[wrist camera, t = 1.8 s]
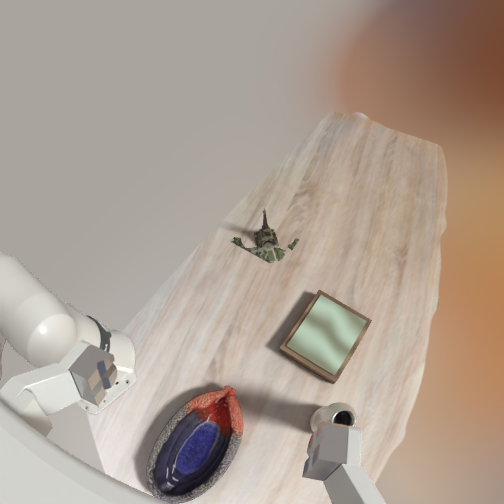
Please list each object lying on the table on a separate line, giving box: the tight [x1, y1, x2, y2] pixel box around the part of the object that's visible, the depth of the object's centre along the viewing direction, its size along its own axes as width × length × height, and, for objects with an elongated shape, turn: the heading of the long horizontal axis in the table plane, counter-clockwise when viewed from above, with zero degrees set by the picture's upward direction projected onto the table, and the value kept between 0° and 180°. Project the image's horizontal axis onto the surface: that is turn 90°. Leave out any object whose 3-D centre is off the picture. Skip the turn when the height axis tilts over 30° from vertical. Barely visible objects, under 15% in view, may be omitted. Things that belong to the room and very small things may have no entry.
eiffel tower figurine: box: [231, 208, 299, 263], centre depth 76 cm, size 15×10×13 cm
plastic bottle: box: [310, 402, 357, 432], centre depth 49 cm, size 6×7×20 cm
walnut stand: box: [280, 290, 372, 384], centre depth 66 cm, size 16×14×3 cm
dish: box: [146, 386, 243, 504], centre depth 55 cm, size 16×31×5 cm, turn 147°
